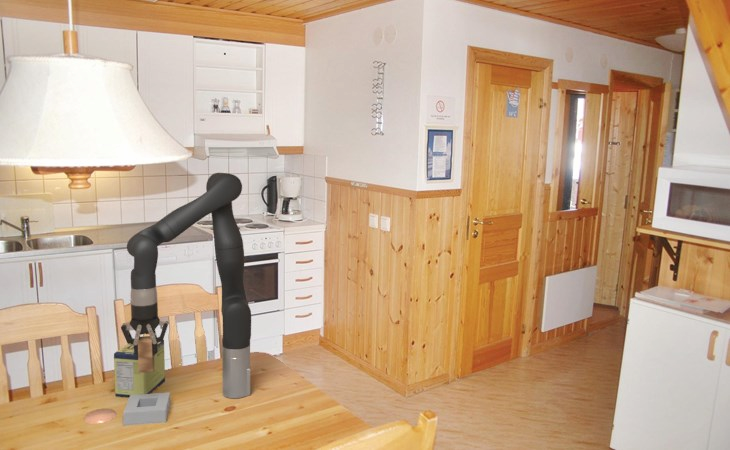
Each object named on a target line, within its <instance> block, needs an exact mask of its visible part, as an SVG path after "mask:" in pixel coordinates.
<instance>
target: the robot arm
mask: <svg viewBox="0 0 730 450" xmlns="http://www.w3.org/2000/svg"><path fill="white" fill-rule="evenodd" d="M205 188H206V189H205V190H206V192H204V193H203V194H202V195H200V196H199V197H198V196H197V198H195V199H194V200H192V201H189V202H188V203H185V204H183V205H181V206H179V207H178V208H176V209H174V210H172V211H170V212H169V213H168V214H166V215H165V216H164V217H162V218H161V219H160V220H158V221H156V223H154V224H152V225H150V226H148V227H145V228H144V229H141V230H140V231H139V232H137V233H135V234H134V235H132V237H130V238H129V240H128V241H127V244H126V250H127V252H128V254H129V255H130V256H131V257H133V268H132V269H131V271H130V299H129V300H130V312H131V313H130V314H131V315H130V316H131V320H130V321H129V322H125V323H122V325H121V326H120V330H121V332H122V334H123V337H124V339H125V341H126V343H127V344H130V343H131V344H133V345H134V354H135V355H137V357H138V340H139V338H140V337H141V335H148V336H150V338H151V340H152V343H153V344H152V351H153V356H155V354H157V352H158V343H159V342H162V341H163V340H164V339H165V334H166V332H167V330H168V327H169V321H168V320H167V321H162V320H161V319H160V318H159V312H158V311H159V309H158V307H159V306H158V291H157V275H156V270H157V265H158V260H159V259H158V258H159V250H158V249H159V248H158V246H160V245H161V244H164V243H169V242H172V241H173V240H175V239H176V238H177V237H179V236H180V235H182V234H183V233H184V232H186V230H189V228H190V227H191V226H193V225H195V224H196V223H197V222H200V221H201V220H202V219H203V218H205V217H207V216H208V215H210V214H211V221H212V232H213V240H214V241H213V243H214V255H215V262H216V267H217V271H218V274H219V278H220V279H219V280H220V285H221V309H220V310H221V315H222V339H221V341H222V345H221V347H222V349H221V351H222V353H221V354H222V355H221V356H222V357H221V358H222V362H221V364H222V366H221V367H222V370H221V371H222V395H223V397H226V398H228V399H240V398H245V397H248V396H251V339H252V338H251V337H252V311H251V308H250V305H249V303H248V300H247V296H246V291H245V285H244V272H245V249H244V248H245V247H244V241H243V236H242V233H241V231H240V229H239V226H238V224H237V222H236V219H235V216H234V211H233V201H235V200H237V199H238V198H239V197H240V195H241V194H242V191H243V183H242V181H241V179H240V178H239V177H238V176H237V175H235V174H232V173H227V172H226V173H225V172H215V173H213V174H211V175H210V176H209V178H207V182H206V186H205ZM158 326H159V327H160V330H161V331H160V335H159V336H157V332H156V329H157V328H158ZM131 328H132V329H133V331H134V332H135V335H134V338H133V336H132V334H131V331H130V329H131Z"/></svg>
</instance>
